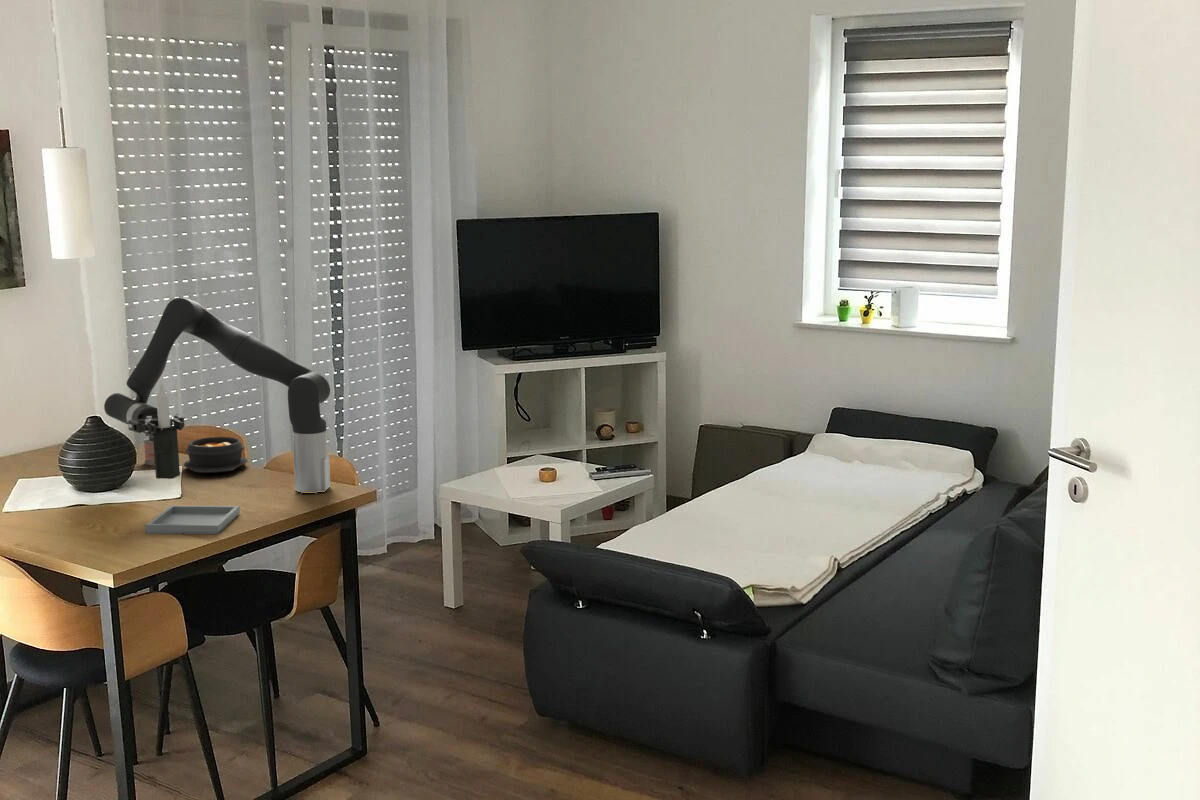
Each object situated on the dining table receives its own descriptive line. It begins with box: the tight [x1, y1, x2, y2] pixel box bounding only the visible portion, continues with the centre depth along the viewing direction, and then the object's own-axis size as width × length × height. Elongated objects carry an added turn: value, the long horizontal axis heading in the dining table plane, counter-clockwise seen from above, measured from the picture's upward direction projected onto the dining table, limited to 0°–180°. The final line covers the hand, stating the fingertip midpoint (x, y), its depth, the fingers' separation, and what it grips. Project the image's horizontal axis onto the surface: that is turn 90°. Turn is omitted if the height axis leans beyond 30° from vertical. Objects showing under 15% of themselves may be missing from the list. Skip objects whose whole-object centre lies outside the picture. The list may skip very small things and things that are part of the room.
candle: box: [153, 383, 181, 480], centre depth 315 cm, size 5×5×25 cm
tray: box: [145, 505, 241, 535], centre depth 306 cm, size 18×18×2 cm
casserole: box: [183, 436, 249, 474], centre depth 363 cm, size 25×19×8 cm
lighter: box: [143, 433, 155, 466], centre depth 368 cm, size 8×3×10 cm, turn 65°
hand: (167, 427), depth 313 cm, fingers closed on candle, 6 cm apart
